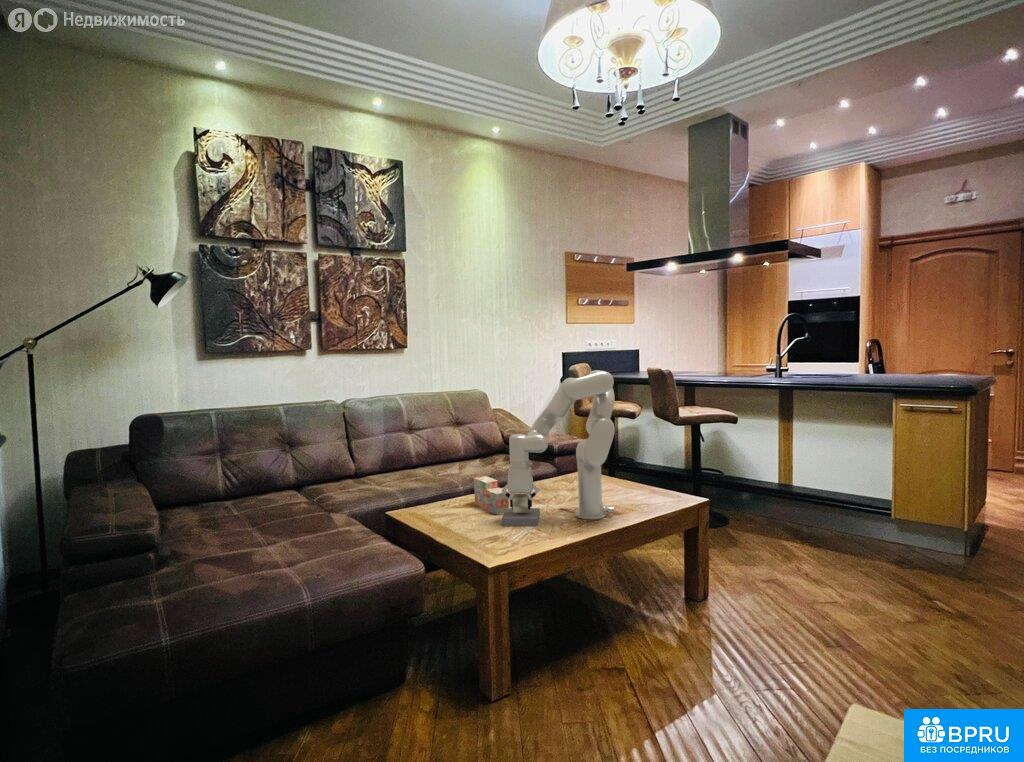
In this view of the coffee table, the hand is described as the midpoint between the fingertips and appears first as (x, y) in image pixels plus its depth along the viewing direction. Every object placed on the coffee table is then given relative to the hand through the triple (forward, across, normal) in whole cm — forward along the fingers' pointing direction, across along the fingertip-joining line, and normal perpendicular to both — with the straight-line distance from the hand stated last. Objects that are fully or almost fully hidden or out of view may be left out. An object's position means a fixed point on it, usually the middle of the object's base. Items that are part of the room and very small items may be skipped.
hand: (521, 508), depth 222 cm
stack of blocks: (+5, +15, -17) cm, 24 cm away
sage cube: (+1, 0, 0) cm, 1 cm away
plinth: (+5, 0, 0) cm, 5 cm away
